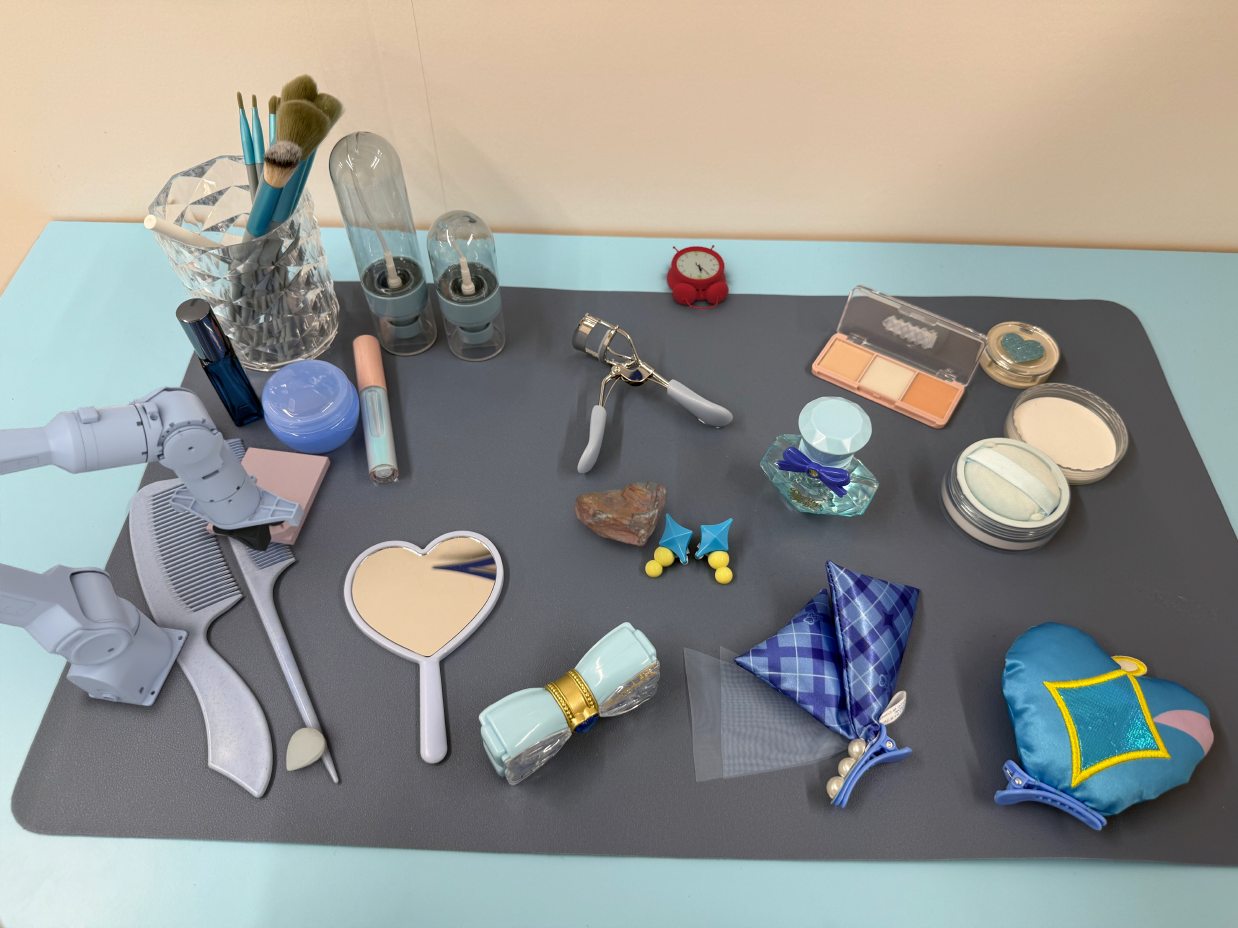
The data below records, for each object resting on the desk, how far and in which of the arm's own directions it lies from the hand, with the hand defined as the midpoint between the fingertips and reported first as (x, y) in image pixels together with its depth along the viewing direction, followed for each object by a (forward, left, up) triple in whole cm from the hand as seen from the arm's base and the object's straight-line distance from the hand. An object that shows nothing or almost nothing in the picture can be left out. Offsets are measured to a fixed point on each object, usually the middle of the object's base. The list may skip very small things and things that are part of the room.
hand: (263, 543), depth 94 cm
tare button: (+7, +4, -6) cm, 11 cm away
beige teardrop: (-21, -11, -9) cm, 25 cm away
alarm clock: (+65, -49, -9) cm, 82 cm away
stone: (+13, -43, -9) cm, 46 cm away
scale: (+12, +7, -9) cm, 17 cm away
